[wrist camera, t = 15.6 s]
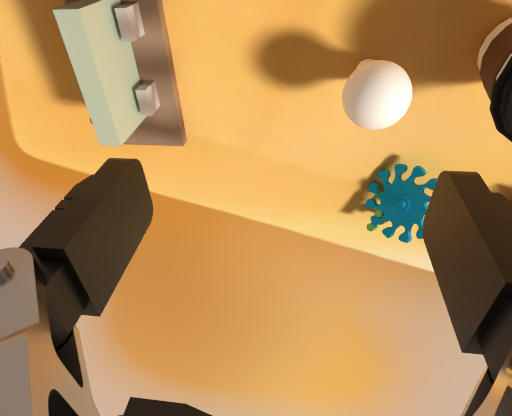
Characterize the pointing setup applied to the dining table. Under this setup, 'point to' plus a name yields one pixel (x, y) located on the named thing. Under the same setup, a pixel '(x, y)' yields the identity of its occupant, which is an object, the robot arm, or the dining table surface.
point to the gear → (400, 202)
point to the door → (102, 67)
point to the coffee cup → (498, 75)
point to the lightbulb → (377, 94)
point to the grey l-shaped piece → (152, 73)
